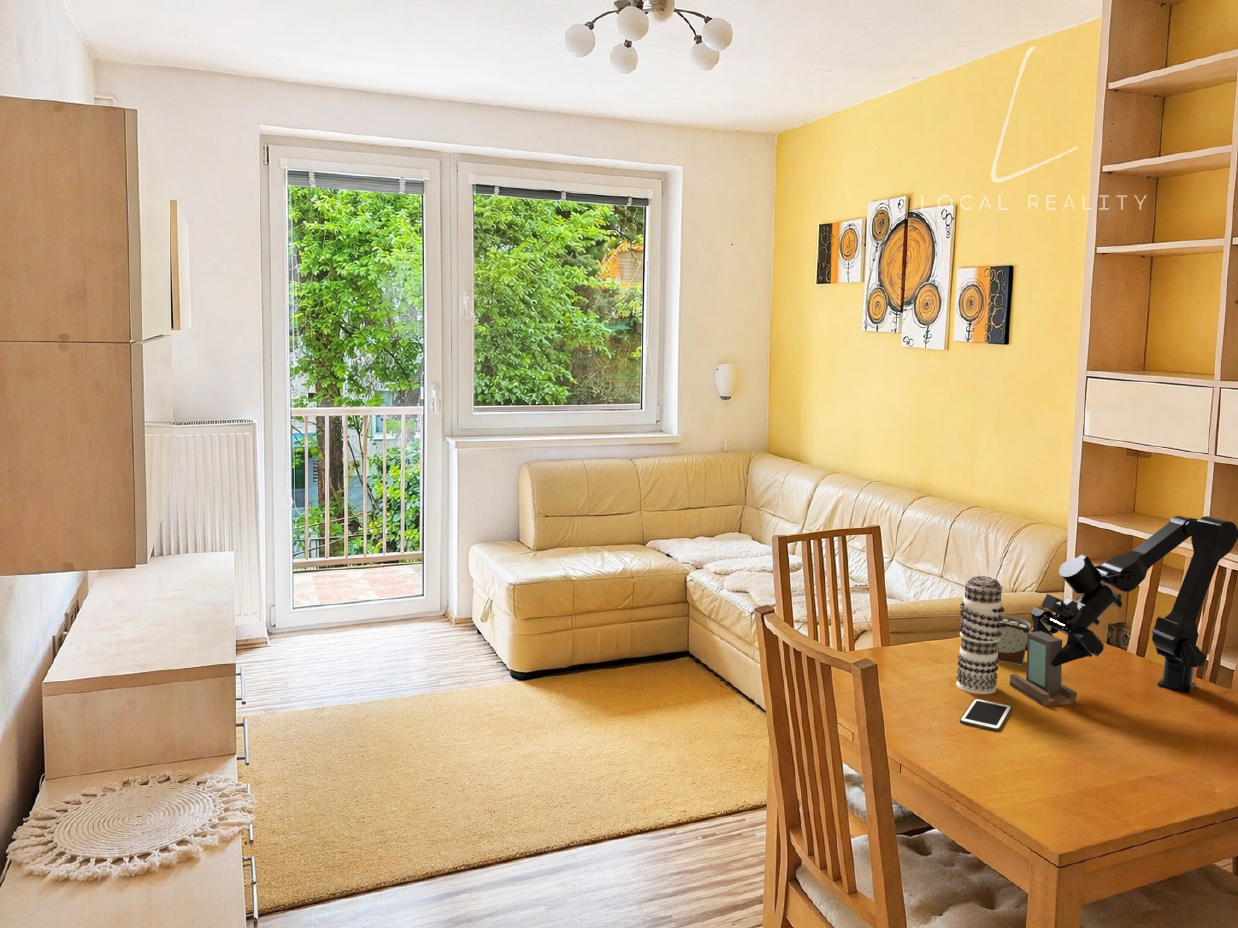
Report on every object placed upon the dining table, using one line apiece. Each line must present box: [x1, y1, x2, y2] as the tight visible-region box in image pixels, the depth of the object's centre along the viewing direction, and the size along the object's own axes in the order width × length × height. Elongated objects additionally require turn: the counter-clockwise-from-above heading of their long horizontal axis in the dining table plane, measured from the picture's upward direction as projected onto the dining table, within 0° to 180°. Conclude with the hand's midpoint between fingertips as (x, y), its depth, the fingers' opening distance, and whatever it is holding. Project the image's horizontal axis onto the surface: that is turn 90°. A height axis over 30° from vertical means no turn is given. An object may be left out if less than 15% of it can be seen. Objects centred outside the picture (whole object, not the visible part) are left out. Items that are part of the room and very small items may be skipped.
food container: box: [997, 614, 1033, 666], centre depth 228 cm, size 12×6×10 cm, turn 58°
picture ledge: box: [1009, 673, 1078, 707], centre depth 206 cm, size 8×12×2 cm, turn 11°
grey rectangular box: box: [1025, 631, 1063, 695], centre depth 205 cm, size 4×6×12 cm, turn 18°
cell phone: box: [959, 697, 1013, 733], centre depth 194 cm, size 8×15×1 cm, turn 147°
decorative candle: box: [955, 575, 1005, 695], centre depth 208 cm, size 9×9×25 cm
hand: (1039, 657), depth 204 cm, fingers open, 9 cm apart
